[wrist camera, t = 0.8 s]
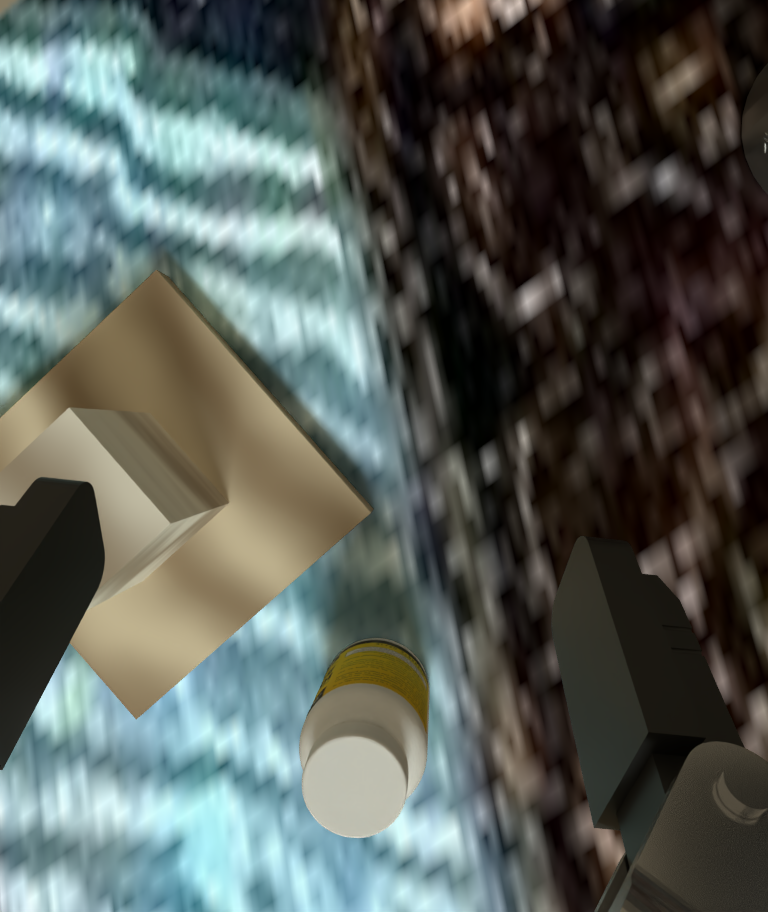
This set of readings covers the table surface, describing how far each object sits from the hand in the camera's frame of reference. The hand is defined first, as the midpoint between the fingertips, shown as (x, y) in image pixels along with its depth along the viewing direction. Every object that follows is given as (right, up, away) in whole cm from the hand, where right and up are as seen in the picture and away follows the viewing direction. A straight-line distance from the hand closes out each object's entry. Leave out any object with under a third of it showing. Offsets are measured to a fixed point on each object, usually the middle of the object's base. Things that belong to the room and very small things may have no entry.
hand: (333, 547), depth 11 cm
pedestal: (-11, 0, +24) cm, 26 cm away
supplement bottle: (+1, -10, +24) cm, 26 cm away
